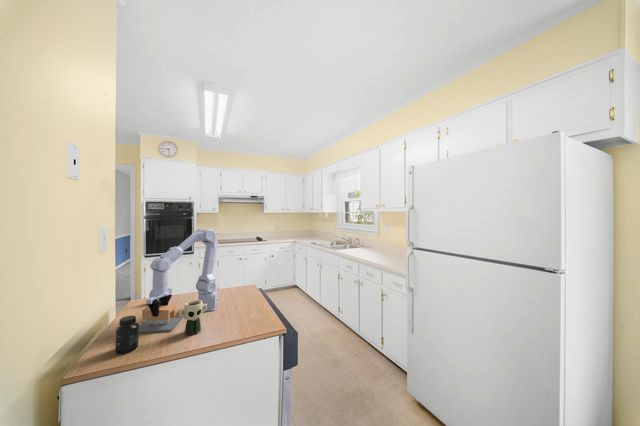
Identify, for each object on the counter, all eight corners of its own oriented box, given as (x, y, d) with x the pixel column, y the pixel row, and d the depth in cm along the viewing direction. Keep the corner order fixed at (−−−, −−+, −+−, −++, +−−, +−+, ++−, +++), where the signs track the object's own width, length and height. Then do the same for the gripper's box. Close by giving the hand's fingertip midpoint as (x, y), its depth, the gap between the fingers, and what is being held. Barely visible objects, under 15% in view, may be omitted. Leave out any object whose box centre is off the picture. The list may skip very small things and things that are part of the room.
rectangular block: (142, 319, 104) (142, 309, 104) (150, 314, 109) (150, 305, 109) (168, 320, 104) (168, 310, 104) (175, 315, 109) (175, 305, 109)
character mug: (180, 339, 95) (181, 308, 95) (177, 333, 101) (177, 303, 101) (208, 331, 103) (209, 302, 103) (203, 325, 108) (204, 297, 108)
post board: (181, 319, 113) (182, 312, 113) (171, 331, 102) (171, 323, 102) (147, 321, 111) (148, 314, 111) (132, 334, 99) (132, 326, 99)
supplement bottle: (110, 352, 86) (111, 320, 86) (131, 342, 92) (132, 313, 92) (122, 356, 83) (123, 323, 84) (142, 346, 90) (143, 316, 90)
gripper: (158, 289, 99) (157, 320, 99) (178, 279, 114) (177, 307, 114) (141, 289, 99) (140, 320, 99) (163, 279, 113) (163, 307, 113)
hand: (159, 313), depth 106 cm, fingers closed on rectangular block, 5 cm apart
